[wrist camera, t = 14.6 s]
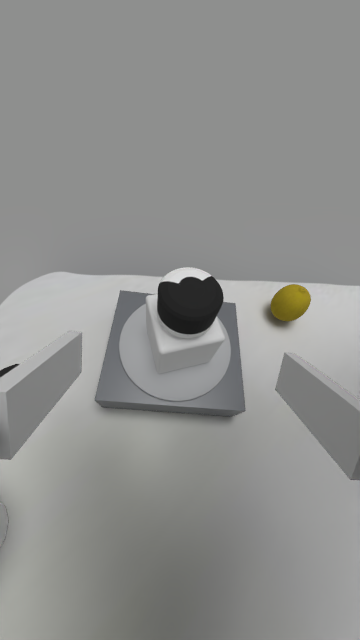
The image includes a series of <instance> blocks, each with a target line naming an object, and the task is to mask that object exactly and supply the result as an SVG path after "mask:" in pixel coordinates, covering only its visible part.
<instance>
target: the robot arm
mask: <svg viewBox="0 0 360 640" xmlns="http://www.w3.org/2000/svg"><path fill="white" fill-rule="evenodd" d="M81 366H82V332H77V331H68V332H67V333H65V334H64V335H62V336H61V337H59V338H58V339H56V340H55V341H53V342H52V343H51V344H49V345H48V346H46V347H45V348H43V349H42V350H40V351H39V352H37V353H36V354H34V355H33V356H31V357H30V358H28V359H27V360H25V361H24V362H23V363H21V364H15V365H12V366H9V367H7V368H4V369H2V370H1V371H0V459H8V460H11V459H12V458H13V457H14V455H15V454H16V453H17V452H18V450H19V449H20V448H21V447H22V445H23V444H24V443H25V442H26V440H27V439H28V438H29V437H30V435H31V434H32V433H33V432H34V430H35V429H36V428H37V427H38V426H39V424H40V423H41V422H42V421H43V419H44V418H45V417H46V416H47V414H48V413H49V412H50V411H51V409H52V408H53V407H54V406H55V404H56V403H57V402H58V401H59V399H60V398H61V397H62V396H63V394H64V393H65V392H66V391H67V390H68V388H69V387H70V386H71V385H72V383H73V382H74V381H75V380H76V378H77V377H78V376H79V375H80V373H81ZM275 390H276V391H277V392H278V393H279V394H280V396H281V397H282V398H283V399H284V401H285V402H286V403H287V404H288V405H289V407H290V408H291V409H292V410H293V411H294V413H295V414H296V415H297V416H298V417H299V419H300V420H301V421H302V422H303V423H304V425H305V426H306V427H307V428H308V429H309V431H310V432H311V433H312V434H313V435H314V437H315V438H316V439H317V440H318V441H319V443H320V444H321V445H322V446H323V447H324V449H325V450H326V451H327V452H328V453H329V455H330V456H331V457H332V458H333V459H334V461H335V462H336V463H337V464H338V465H339V467H340V468H341V469H342V470H343V471H344V473H345V474H346V475H347V476H348V477H349V479H350V480H360V400H359V399H358V398H356V397H355V396H354V395H352V394H351V393H349V392H348V391H347V390H345V389H344V388H342V387H341V386H340V385H338V384H337V383H336V382H334V381H333V380H331V379H330V378H329V377H327V376H326V375H324V374H323V373H322V372H320V371H319V370H318V369H316V368H315V367H313V366H312V365H311V364H309V363H308V362H307V361H305V360H304V359H302V358H301V357H300V356H298V355H297V354H294V353H284V357H283V361H282V365H281V369H280V373H279V377H278V381H277V385H276V388H275Z"/></svg>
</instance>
